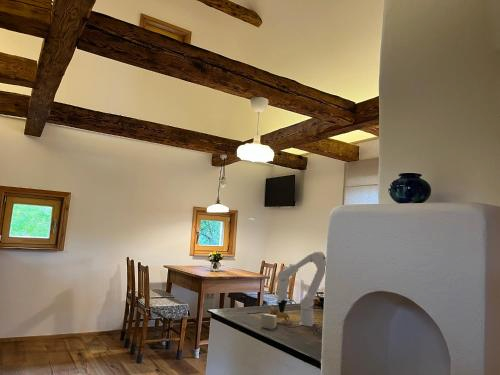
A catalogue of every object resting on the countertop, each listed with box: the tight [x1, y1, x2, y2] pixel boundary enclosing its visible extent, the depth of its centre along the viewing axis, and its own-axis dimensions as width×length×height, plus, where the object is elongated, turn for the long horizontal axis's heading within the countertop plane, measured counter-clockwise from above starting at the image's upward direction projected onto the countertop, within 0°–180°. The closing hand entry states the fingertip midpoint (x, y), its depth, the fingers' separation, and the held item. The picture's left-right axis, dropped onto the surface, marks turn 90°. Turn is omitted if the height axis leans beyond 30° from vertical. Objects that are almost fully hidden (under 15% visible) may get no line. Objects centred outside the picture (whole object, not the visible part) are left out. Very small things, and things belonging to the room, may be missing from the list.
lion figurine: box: [268, 306, 293, 326], centre depth 225 cm, size 15×5×9 cm, turn 74°
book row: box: [260, 313, 278, 330], centre depth 216 cm, size 7×7×7 cm
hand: (281, 312), depth 233 cm, fingers closed
